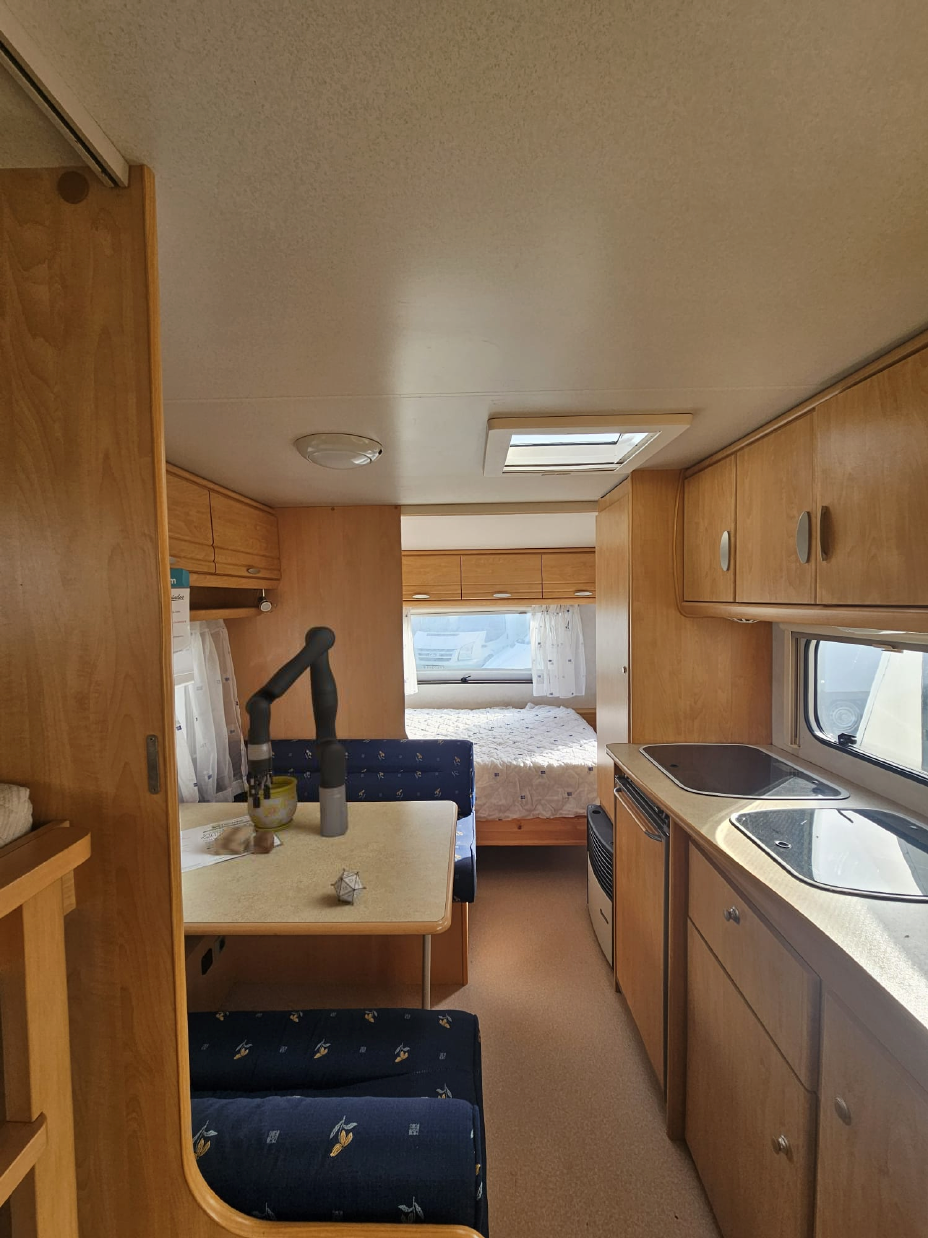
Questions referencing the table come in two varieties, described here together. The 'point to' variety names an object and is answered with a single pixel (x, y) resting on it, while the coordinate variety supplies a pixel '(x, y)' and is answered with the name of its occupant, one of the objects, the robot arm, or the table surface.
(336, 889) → the game die
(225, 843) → the oak box
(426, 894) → the table surface
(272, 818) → the flowerpot
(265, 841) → the walnut block
